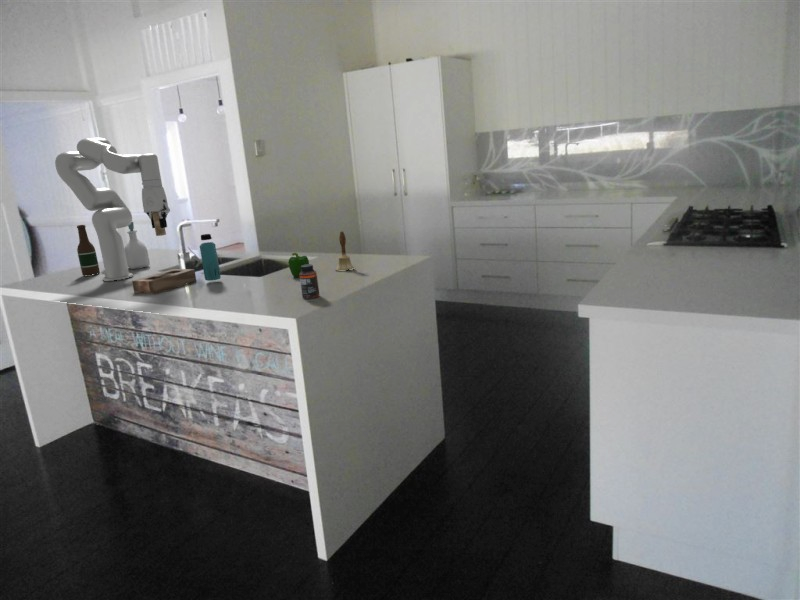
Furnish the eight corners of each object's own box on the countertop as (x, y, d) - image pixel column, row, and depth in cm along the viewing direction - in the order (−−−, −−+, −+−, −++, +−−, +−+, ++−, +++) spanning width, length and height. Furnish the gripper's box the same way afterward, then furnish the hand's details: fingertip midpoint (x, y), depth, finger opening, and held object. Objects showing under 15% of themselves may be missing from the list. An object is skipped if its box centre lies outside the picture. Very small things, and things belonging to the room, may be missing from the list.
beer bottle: (89, 276, 286) (79, 226, 280) (78, 276, 289) (67, 226, 283) (103, 273, 292) (93, 223, 286) (93, 272, 296) (82, 224, 290)
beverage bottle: (217, 284, 245) (209, 235, 240) (202, 284, 246) (194, 235, 241) (224, 280, 251) (217, 232, 246) (210, 280, 252) (202, 233, 247)
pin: (154, 235, 258) (149, 207, 255) (161, 234, 261) (156, 206, 258) (161, 235, 256) (156, 207, 253) (168, 234, 260) (163, 206, 257)
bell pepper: (305, 272, 252) (302, 249, 250) (313, 275, 246) (310, 251, 243) (286, 276, 248) (283, 252, 246) (294, 279, 241) (291, 254, 239)
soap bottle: (146, 264, 307) (138, 219, 301) (151, 267, 299) (142, 221, 293) (126, 268, 301) (117, 222, 296) (130, 270, 294) (121, 223, 288)
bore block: (134, 293, 240) (131, 280, 239) (174, 280, 260) (172, 268, 258) (156, 293, 235) (154, 281, 234) (196, 280, 255) (194, 269, 253)
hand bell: (356, 266, 256) (352, 229, 252) (354, 270, 248) (350, 232, 244) (336, 268, 257) (332, 230, 253) (334, 272, 249) (329, 233, 245)
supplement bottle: (314, 294, 213) (310, 262, 211) (322, 296, 209) (319, 264, 206) (299, 297, 210) (295, 265, 207) (307, 300, 205) (303, 267, 202)
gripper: (130, 185, 253) (138, 229, 258) (160, 184, 247) (168, 228, 251) (144, 184, 260) (152, 226, 265) (174, 182, 253) (181, 226, 258)
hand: (159, 227), depth 258 cm, fingers closed on pin, 4 cm apart
